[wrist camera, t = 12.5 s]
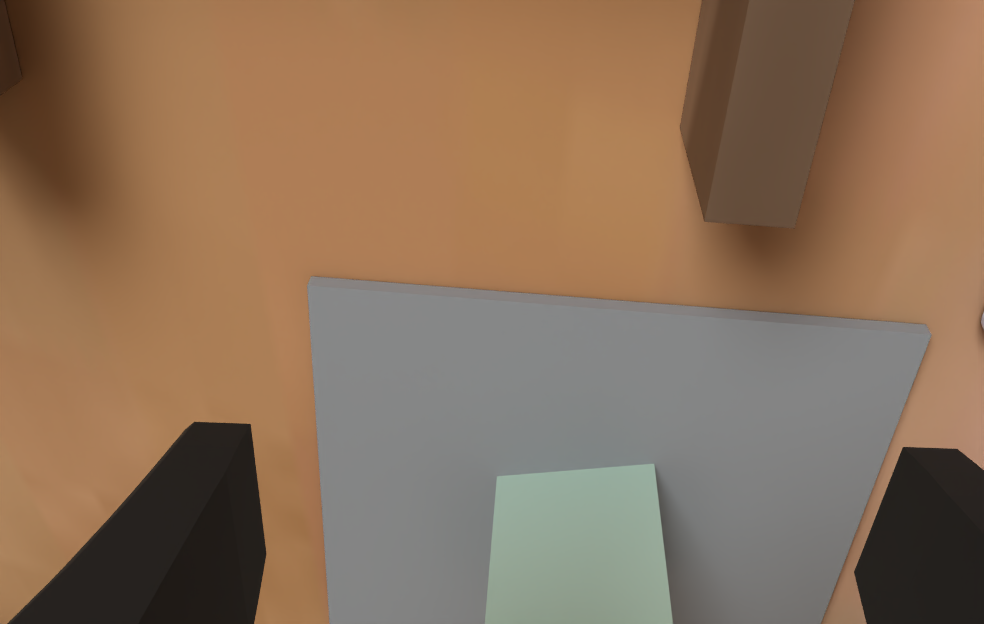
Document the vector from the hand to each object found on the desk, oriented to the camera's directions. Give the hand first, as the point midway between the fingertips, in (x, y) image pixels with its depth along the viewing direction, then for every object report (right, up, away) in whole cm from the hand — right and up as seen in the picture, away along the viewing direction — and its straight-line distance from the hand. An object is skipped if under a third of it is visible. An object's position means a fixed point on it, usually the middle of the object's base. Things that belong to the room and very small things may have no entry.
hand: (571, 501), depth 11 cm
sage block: (+2, -3, +14) cm, 15 cm away
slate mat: (+2, -3, +15) cm, 15 cm away
